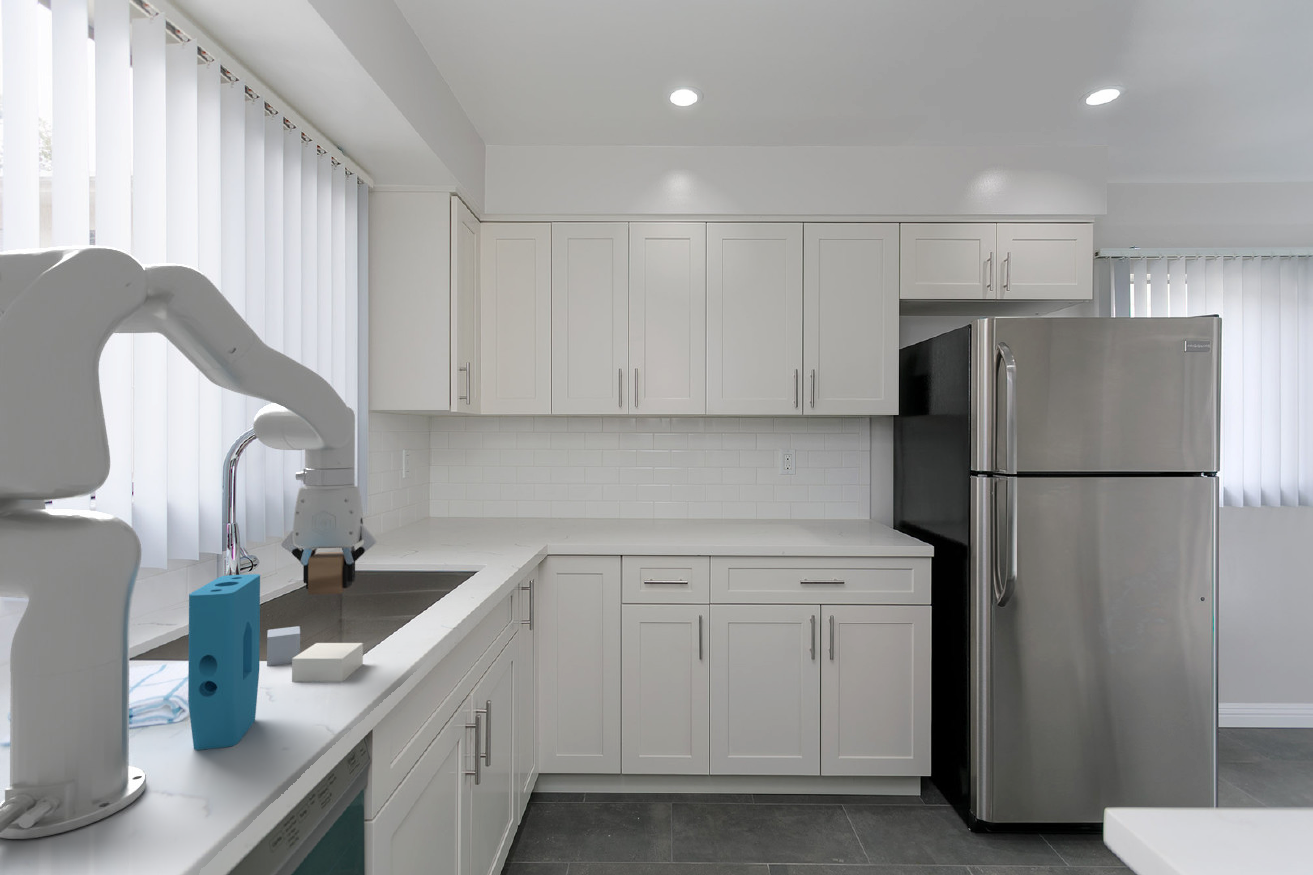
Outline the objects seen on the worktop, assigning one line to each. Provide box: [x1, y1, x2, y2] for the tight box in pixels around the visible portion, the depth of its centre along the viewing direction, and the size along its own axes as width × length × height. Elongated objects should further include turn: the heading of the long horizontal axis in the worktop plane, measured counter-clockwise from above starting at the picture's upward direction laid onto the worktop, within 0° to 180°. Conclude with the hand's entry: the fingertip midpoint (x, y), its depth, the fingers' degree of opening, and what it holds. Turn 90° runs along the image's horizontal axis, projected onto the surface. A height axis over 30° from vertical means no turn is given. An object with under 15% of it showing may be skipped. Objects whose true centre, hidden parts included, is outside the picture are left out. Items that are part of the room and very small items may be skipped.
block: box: [187, 573, 261, 751], centre depth 87 cm, size 12×5×20 cm, turn 16°
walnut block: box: [307, 551, 350, 596], centre depth 110 cm, size 5×5×6 cm
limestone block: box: [291, 642, 364, 683], centre depth 110 cm, size 8×8×4 cm
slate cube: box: [266, 626, 301, 667], centre depth 116 cm, size 5×5×5 cm
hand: (329, 585), depth 110 cm, fingers closed on walnut block, 5 cm apart
